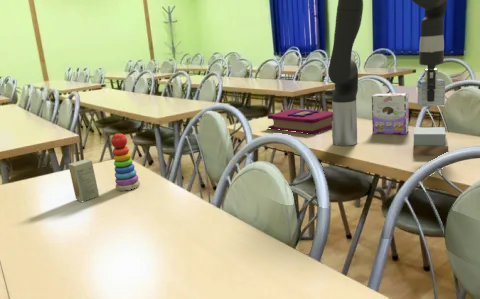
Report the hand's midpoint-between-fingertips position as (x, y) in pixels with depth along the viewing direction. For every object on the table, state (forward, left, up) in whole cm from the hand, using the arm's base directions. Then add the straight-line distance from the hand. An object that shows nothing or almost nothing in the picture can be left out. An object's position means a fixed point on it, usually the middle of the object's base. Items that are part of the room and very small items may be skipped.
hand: (430, 99), depth 154 cm
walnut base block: (0, 0, -19) cm, 19 cm away
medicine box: (0, 0, -2) cm, 2 cm away
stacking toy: (-94, -49, -19) cm, 108 cm away
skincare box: (-102, -60, -19) cm, 120 cm away
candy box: (-15, +28, -19) cm, 37 cm away
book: (-55, +39, -19) cm, 70 cm away
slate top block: (0, 0, -15) cm, 15 cm away
